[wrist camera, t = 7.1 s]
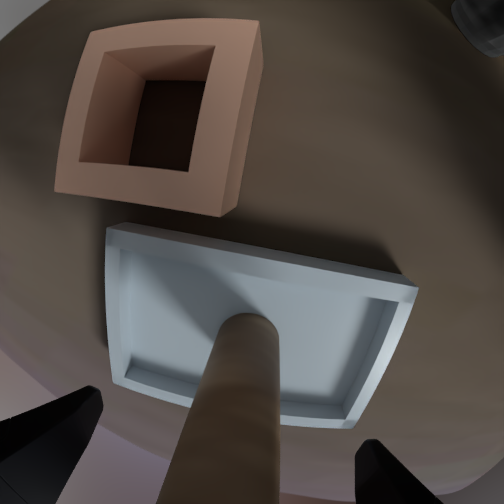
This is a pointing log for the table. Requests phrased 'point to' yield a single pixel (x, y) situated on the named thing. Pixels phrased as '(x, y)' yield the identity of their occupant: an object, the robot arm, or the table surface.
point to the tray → (249, 301)
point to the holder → (128, 102)
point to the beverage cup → (481, 24)
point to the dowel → (232, 422)
